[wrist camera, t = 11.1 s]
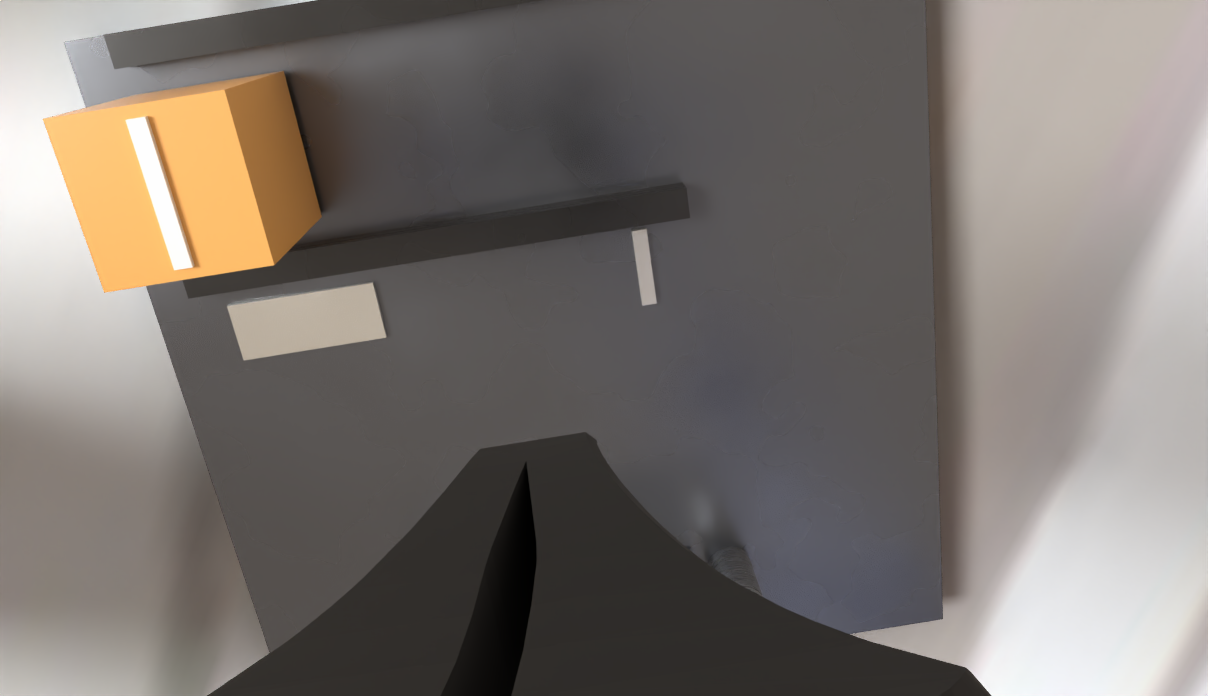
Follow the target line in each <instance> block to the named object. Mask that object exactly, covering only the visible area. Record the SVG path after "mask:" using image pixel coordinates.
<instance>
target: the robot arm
mask: <svg viewBox="0 0 1208 696" xmlns="http://www.w3.org/2000/svg"><path fill="white" fill-rule="evenodd" d="M207 696H991V695H990V694H989V692H988V691H987V690H986V689H985V688H984V687H983V686H982V684H981V683H980V682H979V681H978V680H977V679H976V677H975V676H974V675H973V674H972V673H971V672H970V671H969V670H968V669H967V668H965V667H961V666H958V665H954V664H950V663H947V662H943V661H939V660H936V659H932V658H928V657H925V656H921V655H917V654H914V653H910V652H906V651H902V650H899V649H895V648H891V647H888V646H884V645H880V644H877V643H873V642H870V641H867V640H864V639H861V638H858V637H855V636H853V635H850V634H847V633H845V632H842V631H839V630H837V629H834V628H831V627H829V626H826V625H824V624H821V623H818V622H816V621H813V620H811V619H808V618H806V617H804V616H802V615H799V614H797V613H795V612H793V611H790V610H788V609H786V608H784V607H781V606H779V605H777V604H775V603H773V602H772V601H770V600H768V599H766V598H764V597H762V596H760V595H758V594H756V593H755V592H753V591H751V590H749V589H747V588H745V587H743V586H741V585H739V584H738V583H736V582H734V581H733V580H731V579H729V578H728V577H726V576H724V575H723V574H722V573H720V572H719V571H717V570H716V569H715V568H713V567H712V566H710V565H709V564H708V563H706V562H705V561H703V560H702V559H701V558H699V557H698V556H697V555H696V554H694V553H693V552H692V551H690V550H689V549H688V548H687V547H686V546H684V545H683V544H682V543H681V542H680V541H678V540H677V539H676V538H675V537H674V536H673V535H672V534H671V533H670V532H668V531H667V530H666V529H665V528H664V527H663V526H662V525H661V524H660V523H659V522H658V521H657V520H656V519H655V518H654V517H653V516H652V515H651V514H650V513H649V512H648V511H647V510H646V509H645V508H644V507H643V506H642V505H641V504H640V503H639V502H638V500H637V499H636V498H635V497H634V496H633V495H632V494H631V493H630V491H629V490H628V489H627V488H626V487H625V486H624V485H623V483H622V482H621V481H620V480H619V478H618V477H617V476H616V474H615V473H614V472H613V470H612V469H611V467H610V466H609V464H608V463H607V461H606V460H605V458H604V457H603V455H602V453H601V451H600V449H599V447H598V445H597V440H596V439H595V438H593V437H592V436H590V435H589V434H588V433H586V432H582V433H576V434H570V435H563V436H557V437H551V438H545V439H538V440H532V441H526V442H520V443H514V444H507V445H501V446H495V447H489V448H482V449H480V450H479V451H478V452H477V453H476V454H475V455H474V456H473V457H472V458H471V459H470V461H469V462H468V463H467V464H466V465H465V467H464V468H463V469H462V470H461V471H460V473H459V474H458V475H457V476H456V478H455V479H454V480H453V481H452V482H451V484H450V485H449V486H448V487H447V488H446V490H445V491H444V492H443V493H442V494H441V496H440V497H439V498H438V499H437V500H436V501H435V502H434V504H433V505H432V506H431V507H430V508H429V509H428V511H427V512H426V513H425V514H424V515H423V516H422V517H421V519H420V520H419V521H418V522H417V523H416V524H415V526H414V527H413V528H412V529H411V530H410V531H409V532H408V533H407V534H406V535H405V536H404V537H403V538H402V539H401V540H400V541H399V542H398V543H397V544H396V545H395V546H394V547H393V548H392V549H391V550H390V551H389V552H388V553H387V554H386V555H385V556H384V557H383V558H382V559H381V560H380V561H379V562H378V563H377V564H376V565H375V566H374V567H373V568H372V569H371V570H370V571H369V573H368V574H367V575H366V576H365V577H364V578H362V579H361V580H360V581H359V582H358V583H357V584H356V585H355V586H354V587H353V588H352V589H351V590H349V591H348V592H347V593H346V594H345V595H344V596H343V597H341V598H340V599H339V600H338V601H337V602H336V603H334V604H333V605H332V606H331V607H330V608H328V609H327V610H326V611H325V612H323V613H322V614H321V615H320V616H319V617H317V618H316V619H315V620H314V621H312V622H311V623H310V624H309V625H307V626H306V627H305V628H304V629H302V630H301V631H300V632H299V633H297V634H296V635H295V636H293V637H292V638H291V639H289V640H288V641H287V642H285V643H284V644H283V645H281V646H280V647H278V648H277V649H275V650H274V651H272V652H271V653H269V654H268V655H267V656H265V657H264V658H262V659H261V660H259V661H258V662H256V663H255V664H253V665H252V666H250V667H249V668H247V669H246V670H244V671H243V672H242V673H240V674H239V675H237V676H236V677H234V678H233V679H231V680H230V681H228V682H227V683H225V684H224V685H222V686H221V687H220V688H218V689H217V690H215V691H214V692H212V693H211V694H209V695H207Z"/></svg>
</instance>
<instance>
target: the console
mask: <svg viewBox="0 0 1208 696" xmlns="http://www.w3.org/2000/svg"><path fill="white" fill-rule="evenodd" d="M64 44H65V47H66V50H67V53H68V56H69V59H70V62H71V65H72V68H73V71H74V74H75V77H76V79H77V82H78V85H79V88H80V91H81V94H82V97H83V100H84V103H85V106H86V108H87V107H91V106H94V105H98V104H102V103H106V102H110V101H113V100H117V99H121V98H125V97H129V96H133V95H137V94H143V93H149V92H156V91H162V90H168V89H174V88H180V87H187V86H193V85H199V84H205V83H211V82H218V81H224V80H230V79H236V78H242V77H249V76H255V75H261V74H267V73H273V72H279V71H284V74H285V78H286V82H287V85H288V89H289V93H290V97H291V101H292V105H293V108H294V112H295V116H296V120H297V124H298V127H299V131H300V135H301V139H302V143H303V147H304V150H305V154H306V158H307V162H308V166H309V170H310V173H311V177H312V181H313V185H314V189H315V193H316V196H317V200H318V204H319V208H320V212H321V215H322V217H321V218H320V219H319V220H318V221H317V222H316V223H315V224H314V225H313V226H312V227H311V228H310V229H309V230H308V231H307V233H306V234H305V235H304V236H303V237H302V238H301V239H300V240H299V241H298V242H297V243H296V244H295V245H294V246H293V247H292V248H291V249H290V250H289V251H288V252H287V253H286V254H285V255H284V256H283V257H282V258H281V259H280V260H279V261H278V262H277V263H276V264H275V265H273V266H266V267H260V268H254V269H248V270H241V271H235V272H229V273H223V274H217V275H210V276H204V277H198V278H192V279H186V280H179V281H173V282H167V283H161V284H155V285H148V286H146V287H147V290H148V293H149V296H150V299H151V302H152V305H153V308H154V311H155V314H156V317H157V320H158V322H159V325H160V328H161V331H162V334H163V337H164V340H165V343H166V346H167V349H168V352H169V355H170V358H171V361H172V364H173V367H174V370H175V373H176V376H177V379H178V382H179V385H180V388H181V391H182V394H183V397H184V400H185V403H186V405H187V408H188V411H189V414H190V417H191V420H192V423H193V426H194V429H195V432H196V435H197V438H198V441H199V444H200V447H201V450H202V453H203V456H204V459H205V462H206V465H207V468H208V471H209V474H210V477H211V480H212V483H213V485H214V488H215V491H216V494H217V497H218V500H219V503H220V506H221V509H222V512H223V515H224V518H225V521H226V524H227V527H228V530H229V533H230V536H231V539H232V542H233V545H234V548H235V551H236V554H237V557H238V560H239V563H240V566H241V568H242V571H243V574H244V577H245V580H246V583H247V586H248V589H249V592H250V595H251V598H252V601H253V604H254V607H255V610H256V613H257V616H258V619H259V622H260V625H261V628H262V631H263V634H264V637H265V640H266V643H267V646H268V649H269V651H270V653H271V652H272V651H274V650H275V649H277V648H278V647H280V646H281V645H283V644H284V643H285V642H287V641H288V640H289V639H291V638H292V637H293V636H295V635H296V634H297V633H299V632H300V631H301V630H302V629H304V628H305V627H306V626H307V625H309V624H310V623H311V622H312V621H314V620H315V619H316V618H317V617H319V616H320V615H321V614H322V613H323V612H325V611H326V610H327V609H328V608H330V607H331V606H332V605H333V604H334V603H336V602H337V601H338V600H339V599H340V598H341V597H343V596H344V595H345V594H346V593H347V592H348V591H349V590H351V589H352V588H353V587H354V586H355V585H356V584H357V583H358V582H359V581H360V580H361V579H362V578H364V577H365V576H366V575H367V574H368V573H369V571H370V570H371V569H372V568H373V567H374V566H375V565H376V564H377V563H378V562H379V561H380V560H381V559H382V558H383V557H384V556H385V555H386V554H387V553H388V552H389V551H390V550H391V549H392V548H393V547H394V546H395V545H396V544H397V543H398V542H399V541H400V540H401V539H402V538H403V537H404V536H405V535H406V534H407V533H408V532H409V531H410V530H411V529H412V528H413V527H414V526H415V524H416V523H417V522H418V521H419V520H420V519H421V517H422V516H423V515H424V514H425V513H426V512H427V511H428V509H429V508H430V507H431V506H432V505H433V504H434V502H435V501H436V500H437V499H438V498H439V497H440V496H441V494H442V493H443V492H444V491H445V490H446V488H447V487H448V486H449V485H450V484H451V482H452V481H453V480H454V479H455V478H456V476H457V475H458V474H459V473H460V471H461V470H462V469H463V468H464V467H465V465H466V464H467V463H468V462H469V461H470V459H471V458H472V457H473V456H474V455H475V454H476V453H477V452H478V451H479V450H480V449H482V448H489V447H495V446H501V445H507V444H514V443H520V442H526V441H532V440H538V439H545V438H551V437H557V436H563V435H570V434H576V433H582V432H586V433H588V434H589V435H590V436H592V437H593V438H595V439H596V440H597V445H598V447H599V449H600V451H601V453H602V455H603V457H604V458H605V460H606V461H607V463H608V464H609V466H610V467H611V469H612V470H613V472H614V473H615V474H616V476H617V477H618V478H619V480H620V481H621V482H622V483H623V485H624V486H625V487H626V488H627V489H628V490H629V491H630V493H631V494H632V495H633V496H634V497H635V498H636V499H637V500H638V502H639V503H640V504H641V505H642V506H643V507H644V508H645V509H646V510H647V511H648V512H649V513H650V514H651V515H652V516H653V517H654V518H655V519H656V520H657V521H658V522H659V523H660V524H661V525H662V526H663V527H664V528H665V529H666V530H667V531H668V532H670V533H671V534H672V535H673V536H674V537H675V538H676V539H677V540H678V541H680V542H681V543H682V544H683V545H684V546H686V547H687V548H688V549H689V550H690V551H692V552H693V553H694V554H696V555H697V556H698V557H699V558H701V559H702V560H703V561H705V562H706V563H708V564H709V565H710V566H712V567H713V568H715V569H716V570H717V571H719V572H720V573H722V574H723V575H724V576H726V577H728V578H729V579H731V580H733V581H734V582H736V583H738V584H739V585H741V586H743V587H745V588H747V589H749V590H751V591H753V592H755V593H756V594H758V595H760V596H762V597H764V598H766V599H768V600H770V601H772V602H773V603H775V604H777V605H779V606H781V607H784V608H786V609H788V610H790V611H793V612H795V613H797V614H799V615H802V616H804V617H806V618H808V619H811V620H813V621H816V622H818V623H821V624H824V625H826V626H829V627H831V628H834V629H837V630H839V631H842V632H845V633H847V634H852V633H859V632H865V631H871V630H877V629H884V628H890V627H896V626H903V625H909V624H915V623H921V622H928V621H934V620H940V619H943V606H942V571H941V535H940V500H939V465H938V429H937V394H936V359H935V323H934V288H933V253H932V217H931V182H930V147H929V112H928V76H927V41H926V6H925V0H316V1H310V2H304V3H298V4H291V5H285V6H279V7H273V8H267V9H260V10H254V11H248V12H242V13H236V14H230V15H223V16H217V17H211V18H205V19H199V20H192V21H186V22H180V23H174V24H168V25H162V26H155V27H149V28H143V29H137V30H131V31H124V32H118V33H112V34H106V35H103V36H98V37H92V38H86V39H80V40H73V41H67V42H64Z"/></svg>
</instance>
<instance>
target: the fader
mask: <svg viewBox="0 0 1208 696" xmlns="http://www.w3.org/2000/svg"><path fill="white" fill-rule="evenodd" d="M43 121H44V124H45V127H46V129H47V132H48V135H49V138H50V141H51V144H52V146H53V149H54V152H55V155H56V158H57V160H58V163H59V166H60V169H61V172H62V175H63V177H64V180H65V183H66V186H67V189H68V191H69V194H70V197H71V200H72V203H73V206H74V208H75V211H76V214H77V217H78V220H79V222H80V225H81V228H82V231H83V234H84V237H85V239H86V242H87V245H88V248H89V251H90V253H91V256H92V259H93V262H94V265H95V268H96V270H97V273H98V276H99V279H100V282H101V284H102V287H103V290H104V293H105V292H111V291H117V290H123V289H130V288H136V287H142V286H148V285H155V284H161V283H167V282H173V281H179V280H186V279H192V278H198V277H204V276H210V275H217V274H223V273H229V272H235V271H241V270H248V269H254V268H260V267H266V266H273V265H275V264H276V263H277V262H278V261H279V260H280V259H281V258H282V257H283V256H284V255H285V254H286V253H287V252H288V251H289V250H290V249H291V248H292V247H293V246H294V245H295V244H296V243H297V242H298V241H299V240H300V239H301V238H302V237H303V236H304V235H305V234H306V233H307V231H308V230H309V229H310V228H311V227H312V226H313V225H314V224H315V223H316V222H317V221H318V220H319V219H320V218H321V217H322V215H321V212H320V208H319V204H318V200H317V196H316V193H315V189H314V185H313V181H312V177H311V173H310V170H309V166H308V162H307V158H306V154H305V150H304V147H303V143H302V139H301V135H300V131H299V127H298V124H297V120H296V116H295V112H294V108H293V105H292V101H291V97H290V93H289V89H288V85H287V82H286V78H285V74H284V71H279V72H273V73H267V74H261V75H255V76H249V77H242V78H236V79H230V80H224V81H218V82H211V83H205V84H199V85H193V86H187V87H180V88H174V89H168V90H162V91H156V92H149V93H143V94H137V95H133V96H129V97H125V98H121V99H117V100H113V101H110V102H106V103H102V104H98V105H94V106H91V107H87V108H83V109H79V110H75V111H71V112H68V113H64V114H60V115H56V116H52V117H49V118H45V119H43Z"/></svg>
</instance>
